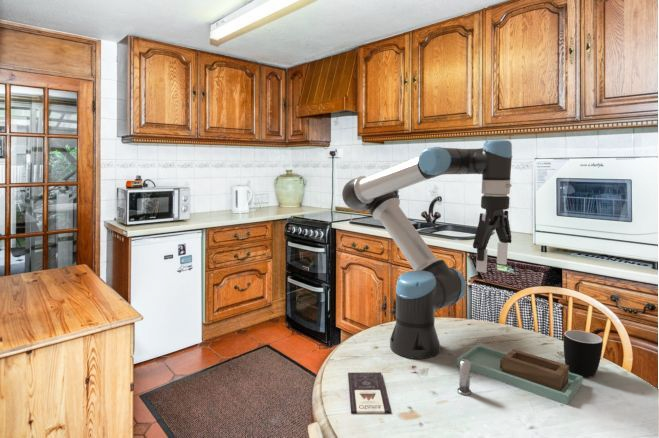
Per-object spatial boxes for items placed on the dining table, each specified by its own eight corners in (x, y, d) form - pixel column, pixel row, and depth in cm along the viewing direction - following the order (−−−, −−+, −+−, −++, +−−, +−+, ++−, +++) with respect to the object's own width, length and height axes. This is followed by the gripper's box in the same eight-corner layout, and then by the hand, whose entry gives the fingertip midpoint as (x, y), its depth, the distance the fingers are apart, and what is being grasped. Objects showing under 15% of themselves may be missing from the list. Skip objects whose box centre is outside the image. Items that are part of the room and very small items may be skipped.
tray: (456, 365, 115) (457, 358, 115) (477, 351, 125) (477, 344, 124) (567, 405, 96) (567, 396, 95) (582, 384, 105) (582, 376, 105)
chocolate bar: (381, 372, 111) (390, 411, 93) (381, 375, 111) (390, 415, 93) (347, 372, 111) (351, 411, 93) (348, 375, 111) (351, 415, 93)
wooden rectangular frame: (559, 392, 100) (560, 375, 99) (496, 371, 110) (496, 355, 110) (567, 382, 105) (569, 365, 104) (506, 362, 115) (506, 347, 115)
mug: (607, 381, 106) (610, 344, 105) (570, 379, 108) (572, 342, 106) (585, 360, 118) (587, 326, 117) (552, 358, 119) (554, 325, 118)
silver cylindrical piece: (455, 391, 102) (456, 361, 101) (461, 387, 104) (462, 357, 103) (467, 396, 99) (468, 365, 98) (473, 391, 102) (474, 361, 101)
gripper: (488, 198, 105) (485, 278, 108) (525, 193, 123) (521, 262, 125) (461, 196, 111) (458, 272, 113) (500, 192, 128) (497, 259, 131)
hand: (491, 267), depth 119 cm, fingers open, 13 cm apart
